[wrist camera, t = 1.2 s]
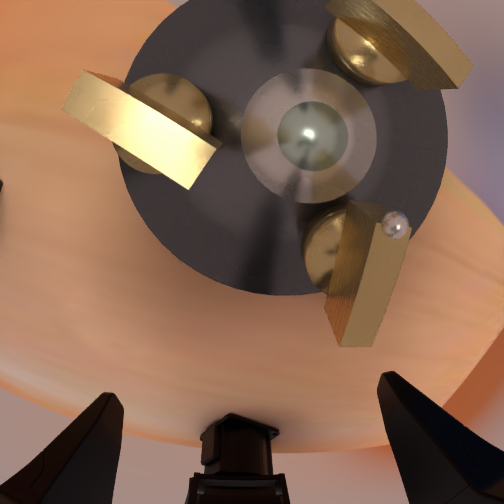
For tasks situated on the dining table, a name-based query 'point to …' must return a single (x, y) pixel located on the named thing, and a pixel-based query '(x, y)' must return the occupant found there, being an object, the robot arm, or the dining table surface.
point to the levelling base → (228, 185)
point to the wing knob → (355, 265)
